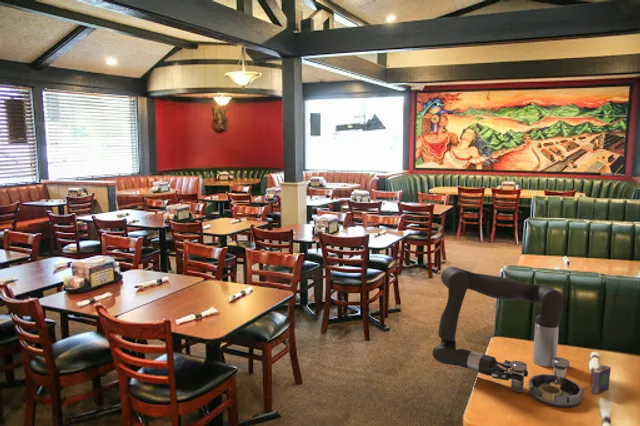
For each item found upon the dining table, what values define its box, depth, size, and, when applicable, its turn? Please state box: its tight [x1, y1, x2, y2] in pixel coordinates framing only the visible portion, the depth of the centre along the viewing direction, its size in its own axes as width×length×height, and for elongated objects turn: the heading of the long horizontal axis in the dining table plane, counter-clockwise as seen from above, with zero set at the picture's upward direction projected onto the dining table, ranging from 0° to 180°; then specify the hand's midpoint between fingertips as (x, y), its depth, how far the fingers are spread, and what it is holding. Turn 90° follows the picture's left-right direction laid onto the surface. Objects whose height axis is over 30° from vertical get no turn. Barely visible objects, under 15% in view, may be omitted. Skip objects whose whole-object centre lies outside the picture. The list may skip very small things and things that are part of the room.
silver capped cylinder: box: [510, 360, 528, 393], centre depth 192 cm, size 6×6×10 cm
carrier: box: [527, 356, 584, 409], centre depth 189 cm, size 18×18×12 cm
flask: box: [591, 363, 612, 396], centre depth 193 cm, size 9×3×11 cm, turn 121°
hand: (525, 376), depth 191 cm, fingers closed on silver capped cylinder, 4 cm apart
